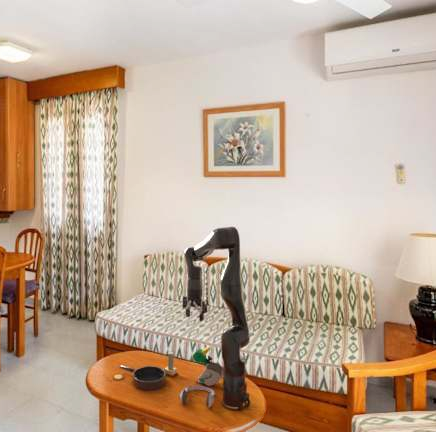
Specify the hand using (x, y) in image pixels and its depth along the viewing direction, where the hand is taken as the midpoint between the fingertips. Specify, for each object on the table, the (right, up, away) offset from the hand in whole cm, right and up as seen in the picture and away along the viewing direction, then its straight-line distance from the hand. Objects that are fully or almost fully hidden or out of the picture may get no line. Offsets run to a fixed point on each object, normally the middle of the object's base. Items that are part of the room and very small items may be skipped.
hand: (194, 318), depth 194 cm
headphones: (-1, -28, -27) cm, 39 cm away
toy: (+7, -27, -13) cm, 31 cm away
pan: (-22, -27, -13) cm, 37 cm away
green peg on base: (-12, -26, -5) cm, 29 cm away
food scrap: (-37, -25, -8) cm, 46 cm away
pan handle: (-32, -24, -6) cm, 41 cm away
